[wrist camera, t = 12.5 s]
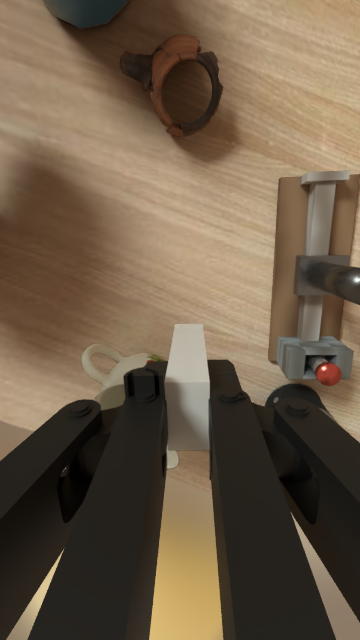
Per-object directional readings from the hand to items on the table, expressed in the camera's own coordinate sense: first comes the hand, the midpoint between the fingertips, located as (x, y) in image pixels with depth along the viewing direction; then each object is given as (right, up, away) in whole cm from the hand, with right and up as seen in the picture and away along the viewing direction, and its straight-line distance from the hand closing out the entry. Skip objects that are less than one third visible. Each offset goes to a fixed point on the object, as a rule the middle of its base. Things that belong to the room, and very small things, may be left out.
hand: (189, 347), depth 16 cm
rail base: (+18, +8, +25) cm, 32 cm away
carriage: (+18, +8, +24) cm, 31 cm away
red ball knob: (+18, -4, +24) cm, 30 cm away
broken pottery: (-1, +31, +21) cm, 37 cm away
